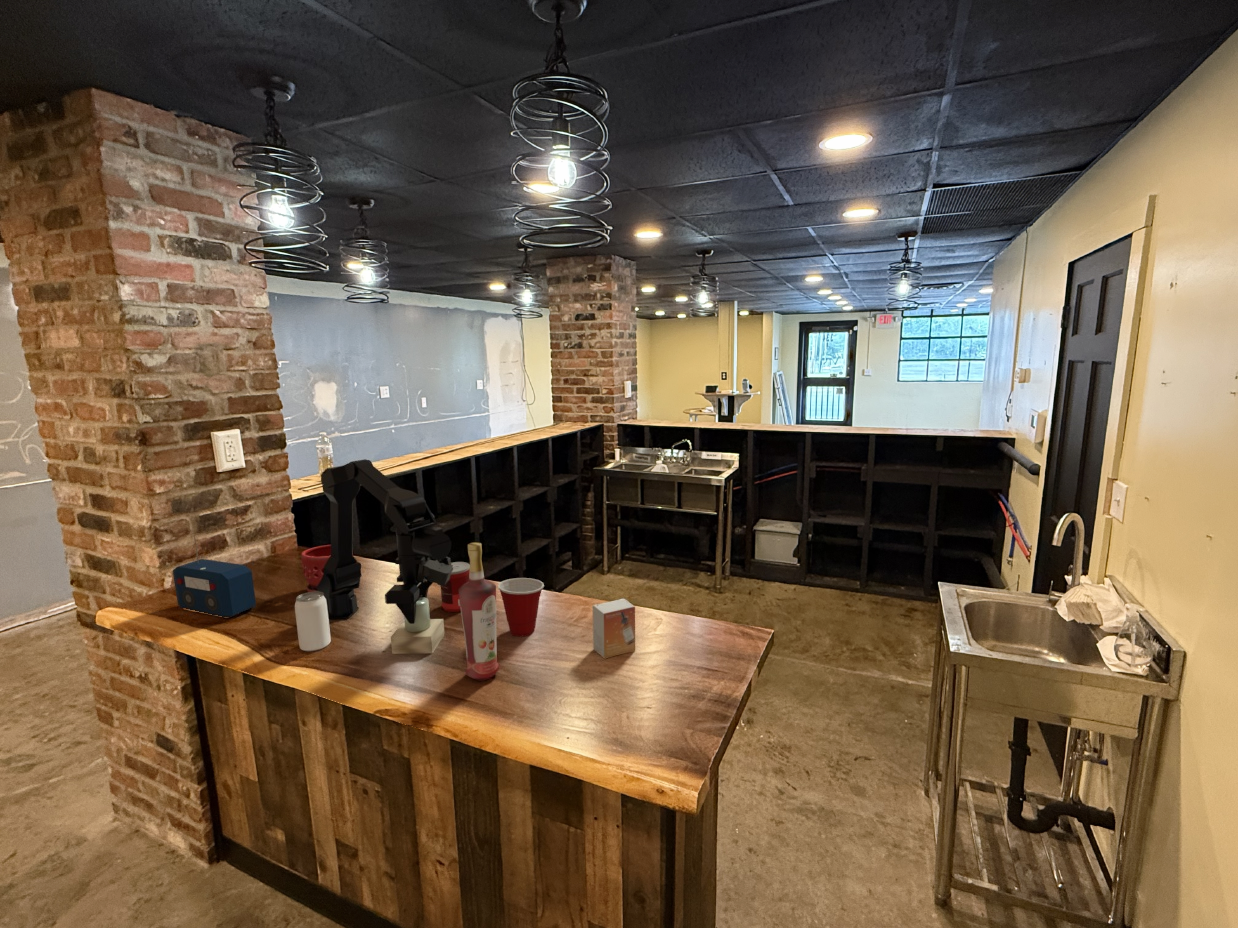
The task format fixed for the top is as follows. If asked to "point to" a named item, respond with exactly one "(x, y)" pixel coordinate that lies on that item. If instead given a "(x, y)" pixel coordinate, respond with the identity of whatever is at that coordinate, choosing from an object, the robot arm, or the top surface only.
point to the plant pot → (315, 565)
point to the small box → (614, 628)
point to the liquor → (479, 619)
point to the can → (312, 621)
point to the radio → (214, 587)
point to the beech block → (417, 639)
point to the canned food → (454, 586)
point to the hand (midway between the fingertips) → (416, 617)
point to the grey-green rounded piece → (419, 617)
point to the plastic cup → (521, 604)
